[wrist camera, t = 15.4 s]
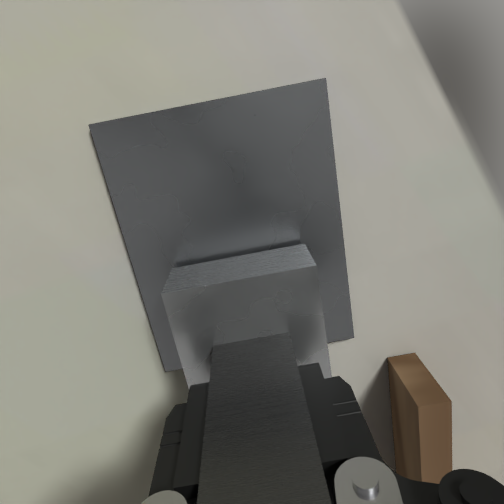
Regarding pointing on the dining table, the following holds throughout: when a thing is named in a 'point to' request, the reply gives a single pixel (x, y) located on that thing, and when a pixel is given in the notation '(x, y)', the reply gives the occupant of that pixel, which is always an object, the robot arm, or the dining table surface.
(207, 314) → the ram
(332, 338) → the base
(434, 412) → the wooden l-shaped sticks
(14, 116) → the dining table surface
